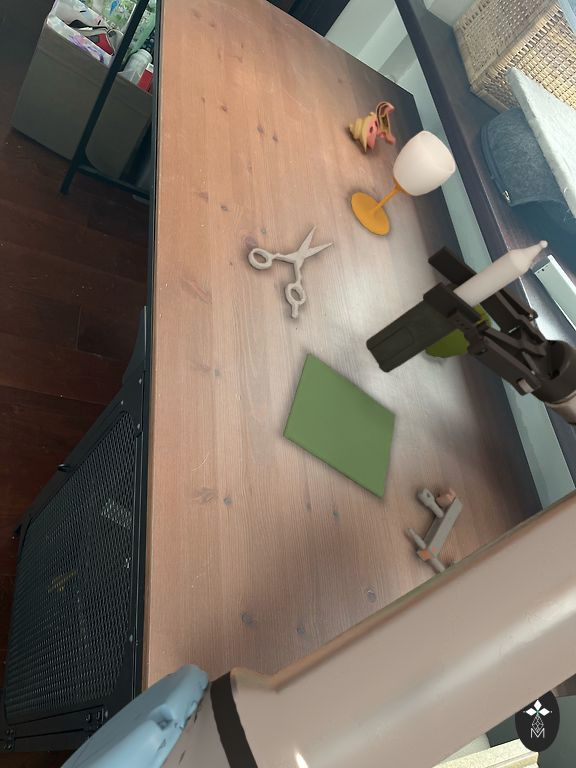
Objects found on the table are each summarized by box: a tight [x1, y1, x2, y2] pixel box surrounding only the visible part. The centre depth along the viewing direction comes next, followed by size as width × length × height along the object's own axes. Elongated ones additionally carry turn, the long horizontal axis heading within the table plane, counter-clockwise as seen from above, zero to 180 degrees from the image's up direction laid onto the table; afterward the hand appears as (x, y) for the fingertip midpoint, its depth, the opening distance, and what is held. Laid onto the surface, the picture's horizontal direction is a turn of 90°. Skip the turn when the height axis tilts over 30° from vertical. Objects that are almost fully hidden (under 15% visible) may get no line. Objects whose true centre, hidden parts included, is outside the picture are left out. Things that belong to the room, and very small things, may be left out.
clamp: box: [407, 487, 464, 573], centre depth 81 cm, size 15×2×10 cm
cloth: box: [283, 352, 396, 499], centre depth 81 cm, size 14×16×1 cm
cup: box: [350, 130, 456, 236], centre depth 104 cm, size 9×9×16 cm
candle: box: [365, 240, 548, 374], centre depth 74 cm, size 5×5×25 cm
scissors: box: [247, 224, 335, 319], centre depth 90 cm, size 11×1×20 cm
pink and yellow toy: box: [349, 101, 397, 154], centre depth 119 cm, size 9×10×10 cm
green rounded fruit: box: [424, 304, 493, 359], centre depth 98 cm, size 9×8×12 cm
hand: (434, 271), depth 71 cm, fingers closed on candle, 6 cm apart
